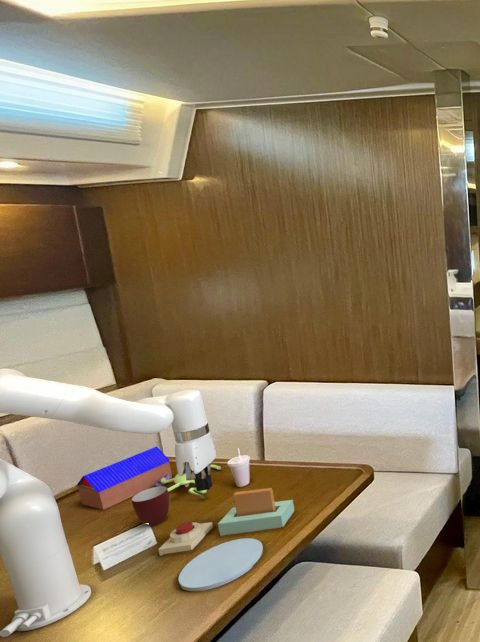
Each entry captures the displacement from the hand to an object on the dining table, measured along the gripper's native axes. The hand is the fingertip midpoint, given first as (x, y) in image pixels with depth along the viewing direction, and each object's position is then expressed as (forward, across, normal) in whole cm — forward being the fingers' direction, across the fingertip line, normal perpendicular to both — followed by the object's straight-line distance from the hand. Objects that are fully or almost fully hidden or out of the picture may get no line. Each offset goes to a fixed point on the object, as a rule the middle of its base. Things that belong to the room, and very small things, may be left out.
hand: (204, 488), depth 133 cm
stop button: (+12, +2, -6) cm, 14 cm away
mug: (+16, -12, -23) cm, 30 cm away
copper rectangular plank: (+15, -2, +11) cm, 19 cm away
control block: (+16, +2, -6) cm, 17 cm away
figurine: (+16, -29, -25) cm, 41 cm away
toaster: (+16, -2, +11) cm, 19 cm away
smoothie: (+16, -28, -6) cm, 33 cm away
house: (+16, -34, -44) cm, 57 cm away
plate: (+16, +15, +10) cm, 24 cm away
